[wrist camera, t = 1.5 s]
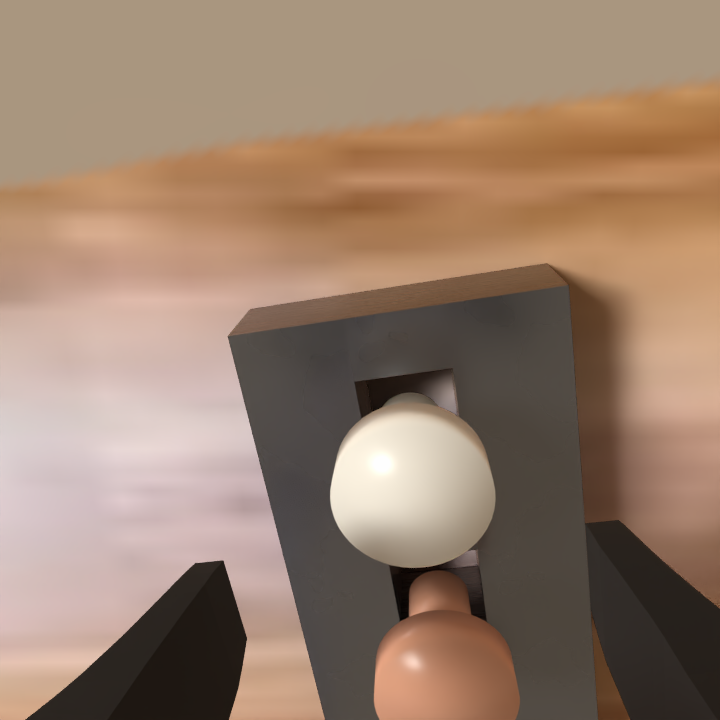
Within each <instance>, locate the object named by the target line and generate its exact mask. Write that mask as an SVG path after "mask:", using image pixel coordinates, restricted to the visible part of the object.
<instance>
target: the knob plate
mask: <svg viewBox="0 0 720 720" xmlns="http://www.w3.org/2000/svg"><path fill="white" fill-rule="evenodd" d="M228 339H229V343H230V347H231V351H232V355H233V359H234V363H235V367H236V371H237V375H238V379H239V383H240V387H241V390H242V394H243V398H244V402H245V406H246V410H247V414H248V418H249V422H250V426H251V430H252V434H253V438H254V442H255V446H256V450H257V453H258V457H259V461H260V465H261V469H262V473H263V477H264V481H265V485H266V489H267V493H268V497H269V501H270V505H271V509H272V513H273V516H274V520H275V524H276V528H277V532H278V536H279V540H280V544H281V548H282V552H283V556H284V560H285V564H286V568H287V572H288V575H289V579H290V583H291V587H292V591H293V595H294V599H295V603H296V607H297V611H298V615H299V619H300V623H301V627H302V631H303V635H304V638H305V642H306V646H307V650H308V654H309V658H310V662H311V666H312V670H313V674H314V678H315V682H316V686H317V690H318V694H319V697H320V701H321V705H322V709H323V713H324V717H325V720H380V719H379V717H378V715H377V713H376V710H375V705H374V686H375V667H376V654H377V650H378V647H379V645H380V642H381V641H382V639H383V637H384V636H385V635H386V634H387V632H388V631H389V630H390V629H391V628H392V627H393V626H395V625H396V624H397V623H399V622H400V621H402V620H404V619H406V618H408V617H409V589H410V586H411V584H412V583H413V581H414V580H415V579H416V578H417V577H419V576H420V575H422V574H424V573H426V572H430V571H424V572H414V573H404V574H402V573H401V568H400V567H398V566H392V565H389V564H385V563H382V562H380V561H377V560H375V559H373V558H371V557H369V556H367V555H365V554H364V553H362V552H361V551H360V550H358V549H357V548H356V547H355V546H354V545H352V544H351V543H350V542H349V541H348V539H347V538H346V537H345V536H344V535H343V533H342V532H341V530H340V529H339V527H338V525H337V523H336V521H335V519H334V516H333V512H332V509H331V502H330V489H331V483H332V478H333V473H334V468H335V463H336V458H337V454H338V451H339V448H340V445H341V443H342V441H343V439H344V438H345V436H346V435H347V433H348V432H349V430H350V429H351V428H352V427H353V426H354V425H355V424H356V423H357V422H358V421H360V420H361V419H362V418H363V417H365V416H366V415H368V414H370V413H371V412H372V410H371V404H370V399H369V393H368V388H367V382H366V380H370V379H378V378H385V377H392V376H399V375H407V374H414V373H421V372H428V371H436V370H443V369H450V368H451V371H452V379H453V386H454V393H455V401H456V408H457V415H458V417H460V418H461V419H462V420H464V421H465V422H466V423H467V424H468V425H469V426H470V427H471V428H472V429H473V430H474V431H475V432H476V434H477V435H478V437H479V438H480V440H481V442H482V444H483V446H484V448H485V451H486V454H487V458H488V462H489V466H490V470H491V474H492V478H493V482H494V487H495V499H496V500H495V509H494V513H493V516H492V519H491V522H490V524H489V526H488V528H487V530H486V531H485V533H484V534H483V536H482V537H481V538H480V539H479V541H478V542H477V543H476V544H475V545H474V546H472V547H471V548H470V549H469V550H468V551H470V550H476V556H477V563H478V566H473V567H463V568H453V569H443V570H440V571H447V572H450V573H453V574H455V575H457V576H458V577H459V578H461V579H462V580H463V582H464V583H465V585H466V587H467V589H468V595H469V602H470V609H471V615H473V616H476V617H478V618H480V619H482V620H484V621H486V622H487V623H489V624H490V625H491V626H493V627H494V628H495V629H496V630H497V631H498V632H499V633H500V634H501V635H502V636H503V638H504V639H505V641H506V642H507V644H508V646H509V649H510V651H511V656H512V661H513V666H514V671H515V676H516V681H517V685H518V690H519V695H520V706H519V711H518V714H517V718H516V719H515V720H598V712H597V697H596V682H595V667H594V653H593V638H592V623H591V608H590V593H589V578H588V563H587V548H586V533H585V518H584V504H583V489H582V474H581V459H580V444H579V429H578V414H577V399H576V384H575V369H574V355H573V340H572V325H571V310H570V295H569V285H568V284H567V283H566V282H565V281H564V280H563V279H562V278H561V277H560V276H559V275H558V274H557V273H556V272H555V271H554V270H553V269H552V268H551V267H550V266H549V265H548V264H547V263H546V264H540V265H533V266H527V267H520V268H514V269H507V270H501V271H494V272H488V273H481V274H475V275H469V276H462V277H456V278H449V279H443V280H436V281H430V282H423V283H417V284H410V285H404V286H397V287H391V288H384V289H378V290H371V291H365V292H359V293H352V294H346V295H339V296H333V297H326V298H320V299H313V300H307V301H300V302H294V303H287V304H281V305H274V306H268V307H262V308H255V309H250V310H249V311H248V312H247V314H246V315H245V316H244V317H243V319H242V320H241V321H240V322H239V323H238V325H237V326H236V327H235V328H234V329H233V331H232V332H231V333H230V334H229V335H228ZM434 571H437V570H434Z"/></svg>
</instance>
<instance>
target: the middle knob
mask: <svg viewBox="0 0 720 720" xmlns="http://www.w3.org/2000/svg"><path fill="white" fill-rule="evenodd" d="M374 705H375V710H376V713H377V715H378V717H379V719H380V720H515V719H516V718H517V714H518V711H519V706H520V695H519V690H518V685H517V681H516V676H515V671H514V666H513V661H512V656H511V651H510V649H509V646H508V644H507V642H506V641H505V639H504V638H503V636H502V635H501V634H500V633H499V632H498V631H497V630H496V629H495V628H494V627H493V626H491V625H490V624H489V623H487V622H486V621H484V620H482V619H480V618H478V617H476V616H473V615H471V609H470V602H469V595H468V589H467V587H466V585H465V583H464V582H463V580H462V579H461V578H459V577H458V576H457V575H455V574H453V573H450V572H447V571H440V570H437V571H430V572H426V573H424V574H422V575H420V576H419V577H417V578H416V579H415V580H414V581H413V583H412V584H411V586H410V589H409V617H408V618H406V619H404V620H402V621H400V622H399V623H397V624H396V625H395V626H393V627H392V628H391V629H390V630H389V631H388V632H387V634H386V635H385V636H384V637H383V639H382V641H381V642H380V645H379V647H378V650H377V654H376V667H375V686H374Z"/></svg>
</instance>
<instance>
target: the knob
mask: <svg viewBox="0 0 720 720" xmlns="http://www.w3.org/2000/svg"><path fill="white" fill-rule="evenodd" d="M495 500H496V499H495V487H494V482H493V478H492V474H491V470H490V466H489V462H488V458H487V454H486V451H485V448H484V446H483V444H482V442H481V440H480V438H479V437H478V435H477V434H476V432H475V431H474V430H473V429H472V428H471V427H470V426H469V425H468V424H467V423H466V422H465V421H464V420H462V419H461V418H460V417H458V416H457V415H455V414H453V413H452V412H450V411H448V410H445V409H443V408H441V407H438V405H437V404H436V403H435V402H434V401H433V400H432V399H430V398H429V397H427V396H425V395H422V394H419V393H411V392H409V393H402V394H399V395H396V396H394V397H392V398H391V399H389V400H388V401H387V402H386V403H385V404H384V405H383V407H382V408H380V409H378V410H375V411H373V412H371V413H370V414H368V415H366V416H365V417H363V418H362V419H361V420H360V421H358V422H357V423H356V424H355V425H354V426H353V427H352V428H351V429H350V430H349V432H348V433H347V435H346V436H345V438H344V439H343V441H342V443H341V445H340V448H339V451H338V454H337V458H336V463H335V468H334V473H333V478H332V483H331V489H330V502H331V509H332V512H333V516H334V519H335V521H336V523H337V525H338V527H339V529H340V530H341V532H342V533H343V535H344V536H345V537H346V538H347V539H348V541H349V542H350V543H351V544H352V545H354V546H355V547H356V548H357V549H358V550H360V551H361V552H362V553H364V554H365V555H367V556H369V557H371V558H373V559H375V560H377V561H380V562H382V563H385V564H389V565H392V566H398V567H406V568H423V567H430V566H435V565H439V564H442V563H445V562H448V561H450V560H453V559H455V558H457V557H458V556H460V555H462V554H463V553H465V552H466V551H468V550H469V549H470V548H471V547H472V546H474V545H475V544H476V543H477V542H478V541H479V539H480V538H481V537H482V536H483V534H484V533H485V531H486V530H487V528H488V526H489V524H490V522H491V519H492V516H493V513H494V509H495Z"/></svg>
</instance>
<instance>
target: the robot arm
mask: <svg viewBox="0 0 720 720" xmlns="http://www.w3.org/2000/svg"><path fill="white" fill-rule="evenodd" d="M585 531H586V546H587V561H588V577H589V592H590V608H591V612H592V616H593V619H594V623H595V626H596V630H597V633H598V637H599V640H600V643H601V646H602V650H603V653H604V656H605V660H606V662H607V665H608V667H609V670H610V672H611V674H612V677H613V679H614V682H615V684H616V686H617V689H618V691H619V694H620V696H621V698H622V701H623V703H624V705H625V708H626V710H627V713H628V715H629V717H630V720H720V608H718V607H717V606H716V605H715V604H713V603H712V602H711V601H710V600H708V599H707V598H706V597H704V596H703V595H702V594H701V593H700V592H698V591H697V590H696V589H695V588H694V587H693V586H691V585H690V584H689V583H688V582H687V581H685V580H684V579H683V578H682V577H681V576H679V575H678V574H677V573H676V572H675V571H674V570H672V569H671V568H670V567H669V566H668V565H667V564H666V563H665V562H663V561H662V560H661V559H660V558H659V557H658V556H657V555H656V554H655V553H654V552H652V551H651V550H650V549H649V548H648V547H647V546H646V545H645V544H644V543H643V542H642V541H641V540H640V539H639V538H638V537H636V536H635V535H634V534H633V533H632V532H631V531H630V530H629V529H628V528H627V527H626V526H625V525H624V524H623V523H621V522H620V521H619V520H615V521H606V522H596V523H586V524H585ZM246 641H247V637H246V634H245V630H244V627H243V624H242V620H241V617H240V614H239V611H238V607H237V604H236V601H235V597H234V594H233V591H232V588H231V584H230V581H229V578H228V574H227V571H226V568H225V564H224V561H214V562H204V563H195V564H194V565H193V566H192V567H191V568H190V569H189V570H187V571H186V572H185V573H184V574H183V575H182V576H181V577H180V578H179V579H178V580H177V581H176V582H175V583H174V584H173V585H172V586H171V587H170V589H169V590H168V591H167V592H166V593H165V594H164V595H163V596H162V597H161V598H160V599H159V600H158V601H157V602H156V603H155V604H154V605H153V606H152V607H151V608H150V609H149V610H148V611H147V612H146V613H145V614H144V615H143V616H142V617H141V618H140V619H139V620H138V621H137V622H136V623H135V624H134V625H133V626H132V627H131V628H130V629H129V630H128V631H127V632H126V633H125V634H124V635H123V636H122V637H121V638H120V639H119V640H118V641H117V642H115V643H114V644H113V645H112V646H111V647H110V648H109V649H108V650H107V651H106V652H105V653H104V654H103V655H101V656H100V657H99V658H98V659H97V660H96V661H95V662H94V663H93V664H92V665H91V666H90V667H89V668H87V669H86V670H85V671H84V672H83V673H82V674H81V675H80V676H79V677H77V678H76V679H75V680H74V681H73V682H72V683H70V684H69V685H68V686H67V687H66V688H65V689H63V690H62V691H61V692H60V693H59V694H57V695H56V696H55V697H54V698H52V699H51V700H50V701H49V702H47V703H46V704H45V705H44V706H42V707H41V708H40V709H38V710H37V711H36V712H35V713H33V714H32V715H31V716H29V717H28V718H27V719H26V720H229V717H230V714H231V710H232V707H233V704H234V701H235V697H236V694H237V690H238V686H239V681H240V676H241V671H242V666H243V660H244V653H245V647H246Z"/></svg>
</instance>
